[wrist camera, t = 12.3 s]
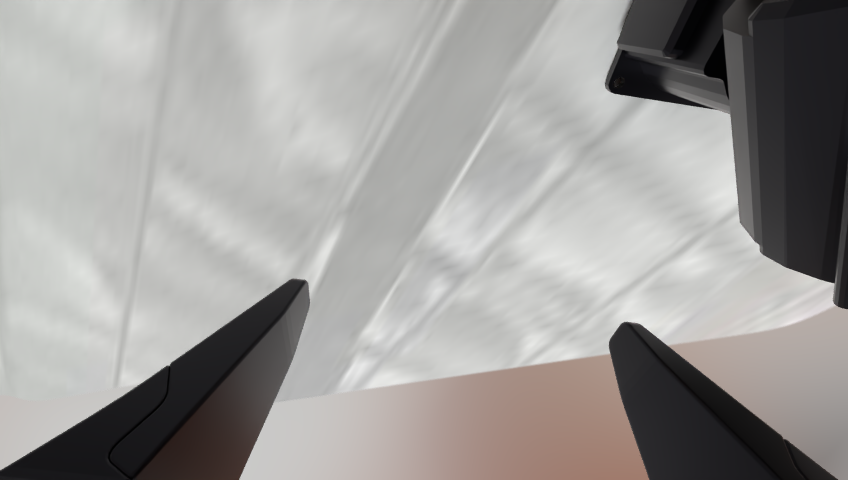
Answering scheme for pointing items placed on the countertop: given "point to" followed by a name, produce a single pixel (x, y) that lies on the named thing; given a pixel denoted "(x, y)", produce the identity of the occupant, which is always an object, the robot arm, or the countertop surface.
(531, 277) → the countertop surface
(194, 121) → the countertop surface
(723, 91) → the robot arm
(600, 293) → the countertop surface
